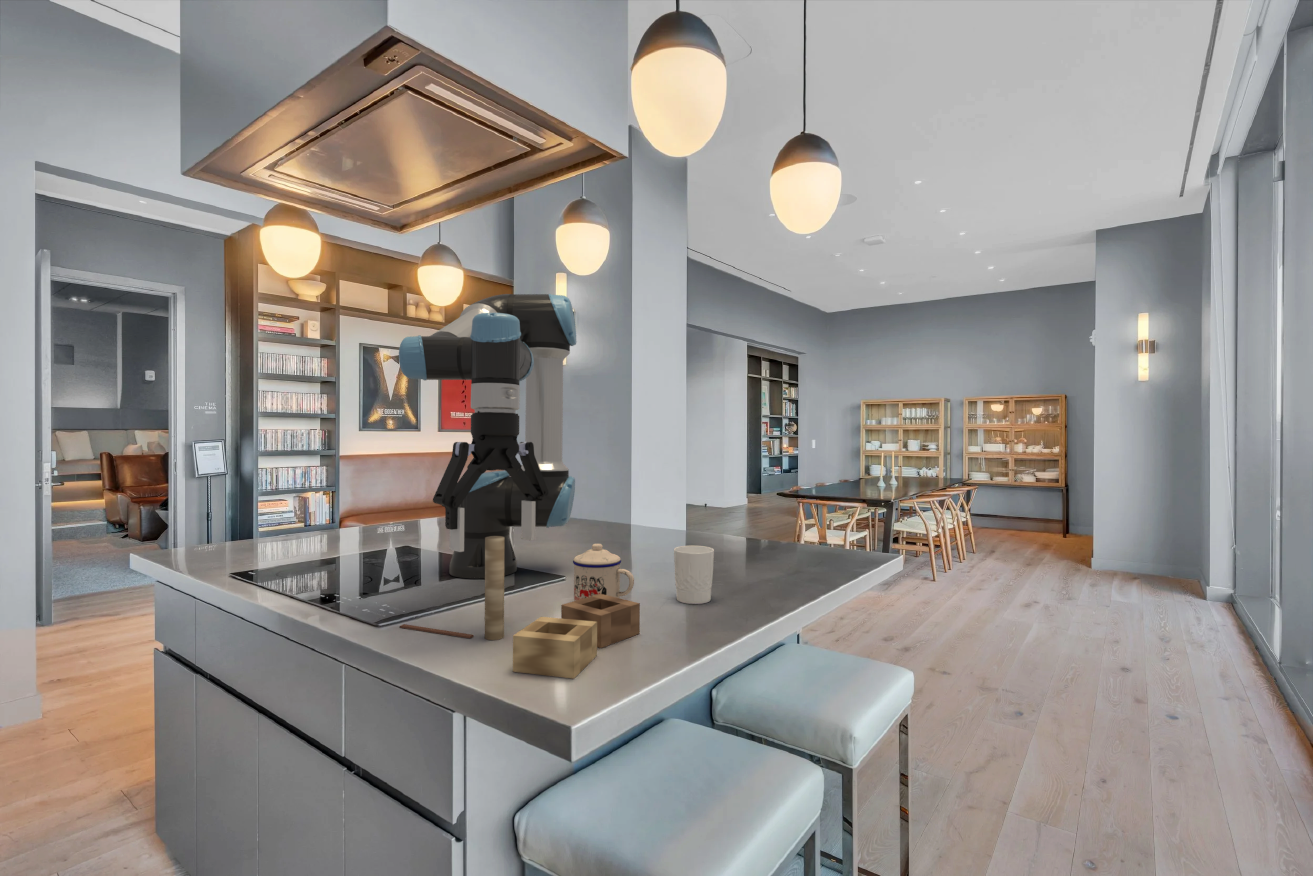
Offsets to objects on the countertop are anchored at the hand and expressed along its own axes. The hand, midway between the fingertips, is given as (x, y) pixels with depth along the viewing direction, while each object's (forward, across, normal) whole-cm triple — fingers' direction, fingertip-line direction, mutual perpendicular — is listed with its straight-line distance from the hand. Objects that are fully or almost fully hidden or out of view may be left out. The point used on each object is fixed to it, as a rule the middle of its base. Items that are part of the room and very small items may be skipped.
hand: (494, 545), depth 100 cm
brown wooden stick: (+15, -4, +10) cm, 18 cm away
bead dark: (+15, +12, -12) cm, 23 cm away
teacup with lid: (+15, +24, -1) cm, 29 cm away
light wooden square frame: (+15, -1, -16) cm, 22 cm away
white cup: (+15, +39, -11) cm, 43 cm away
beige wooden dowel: (+15, 0, 0) cm, 15 cm away
